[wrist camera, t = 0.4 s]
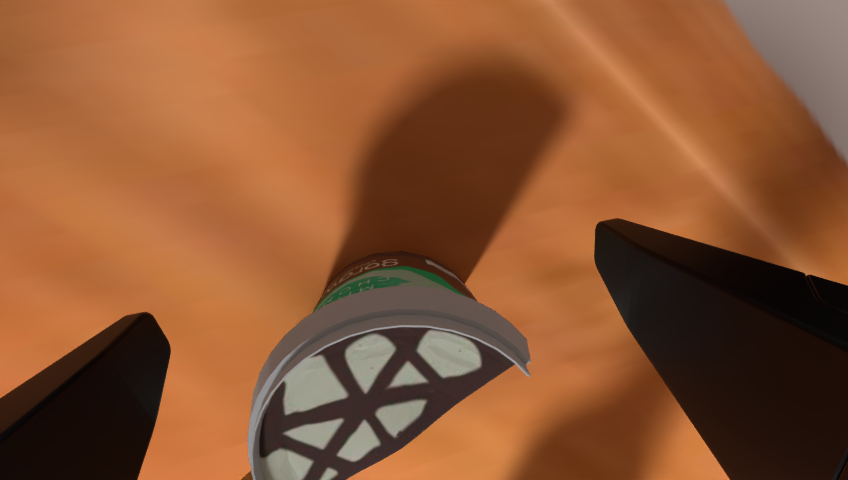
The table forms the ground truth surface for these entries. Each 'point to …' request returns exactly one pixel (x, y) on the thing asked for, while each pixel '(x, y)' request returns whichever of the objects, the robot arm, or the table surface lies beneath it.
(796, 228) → the table surface
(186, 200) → the table surface
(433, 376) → the food container
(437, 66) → the table surface
